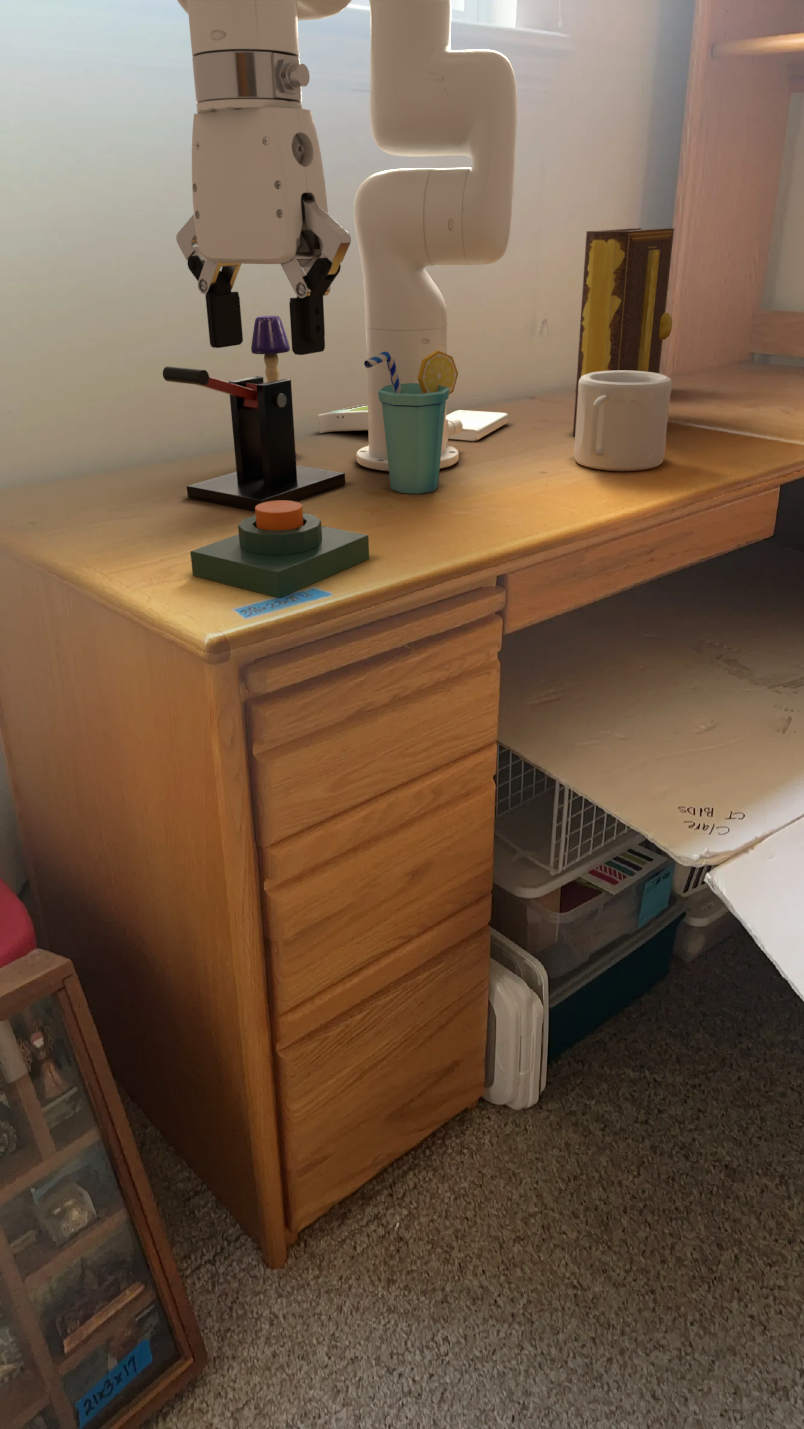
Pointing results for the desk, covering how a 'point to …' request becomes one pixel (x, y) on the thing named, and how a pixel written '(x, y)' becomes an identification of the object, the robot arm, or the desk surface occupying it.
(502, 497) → the desk surface
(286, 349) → the toy lamp
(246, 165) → the robot arm
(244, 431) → the bracket
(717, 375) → the desk surface
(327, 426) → the handheld gaming console
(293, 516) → the button
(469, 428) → the hard drive
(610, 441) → the mug
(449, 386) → the cup
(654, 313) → the book
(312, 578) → the control block
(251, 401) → the lever
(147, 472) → the desk surface
